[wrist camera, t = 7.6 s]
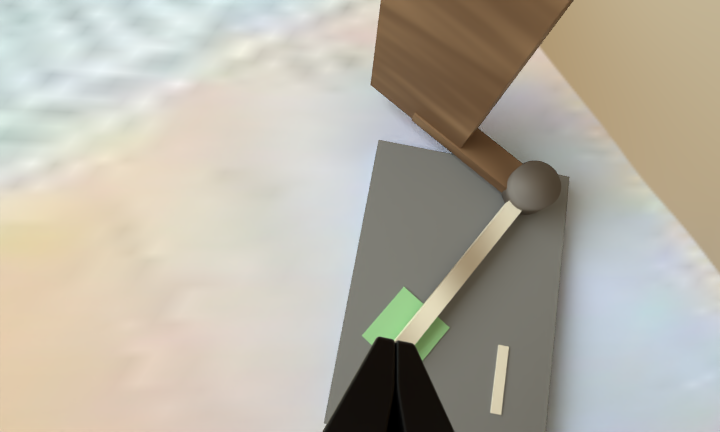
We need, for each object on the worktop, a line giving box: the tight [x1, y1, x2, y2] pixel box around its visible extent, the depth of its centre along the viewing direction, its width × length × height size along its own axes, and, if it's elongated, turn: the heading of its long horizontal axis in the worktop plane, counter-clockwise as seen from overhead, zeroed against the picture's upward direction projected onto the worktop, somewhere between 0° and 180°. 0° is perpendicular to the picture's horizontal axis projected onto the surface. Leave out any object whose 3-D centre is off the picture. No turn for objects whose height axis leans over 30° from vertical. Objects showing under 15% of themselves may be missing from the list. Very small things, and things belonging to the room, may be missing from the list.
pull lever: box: [371, 0, 573, 345], centre depth 16 cm, size 12×11×14 cm
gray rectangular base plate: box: [324, 140, 569, 432], centre depth 23 cm, size 14×10×1 cm
